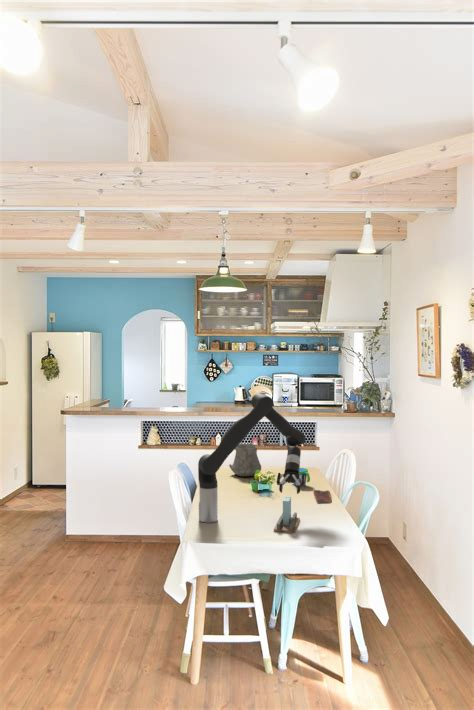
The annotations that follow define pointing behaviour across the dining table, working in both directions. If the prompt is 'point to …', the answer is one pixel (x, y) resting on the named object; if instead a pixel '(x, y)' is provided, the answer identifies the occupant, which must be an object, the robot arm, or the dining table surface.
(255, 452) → the vessel
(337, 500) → the dining table surface
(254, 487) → the green potted plant
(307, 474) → the snack cup
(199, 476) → the robot arm
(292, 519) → the track board
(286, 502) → the door panel
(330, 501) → the wooden tablet
